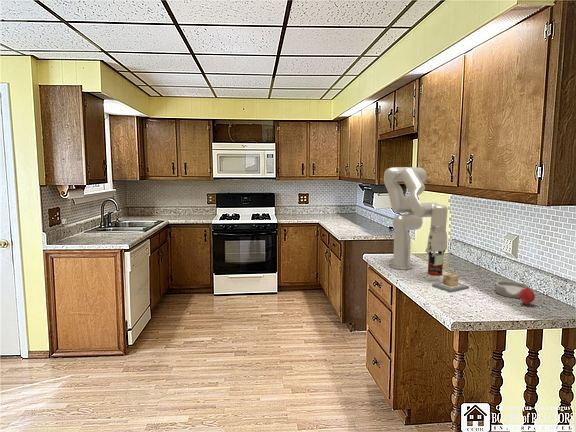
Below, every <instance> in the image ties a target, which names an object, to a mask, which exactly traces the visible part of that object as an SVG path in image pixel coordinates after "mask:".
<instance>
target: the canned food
mask: <svg viewBox="0 0 576 432" xmlns="http://www.w3.org/2000/svg"><path fill="white" fill-rule="evenodd" d="M428 260H429V255H428V259H427V261H428ZM443 266H444V263H443V264H441V265H433V264H430V263H428V262H427V274H428V275H430V276H435V277H436V276H443V274H444V273H443V270H444V269H443Z"/></svg>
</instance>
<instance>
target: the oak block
mask: <svg viewBox="0 0 576 432" xmlns="http://www.w3.org/2000/svg"><path fill="white" fill-rule="evenodd" d="M442 282H443V284H444V285H447V286H450V287H453V286H457V285H458V283H459V274H456V273H455V274H454V273H451V272H449V273H442Z"/></svg>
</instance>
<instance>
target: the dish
mask: <svg viewBox="0 0 576 432" xmlns="http://www.w3.org/2000/svg"><path fill="white" fill-rule="evenodd" d="M493 285H494V290H495V293H496V294H498V295H500V296H503V297H507V298H514V299H516V298H517V299H520V297H519V293H520V291H521V290H523V289H525V288H526V287H529V289H531V288H530V286H529V285H528V284H527V283H523V282H518V281H514V280H511V281H510V280H509V281H508V280H498V281H494V284H493Z"/></svg>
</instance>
